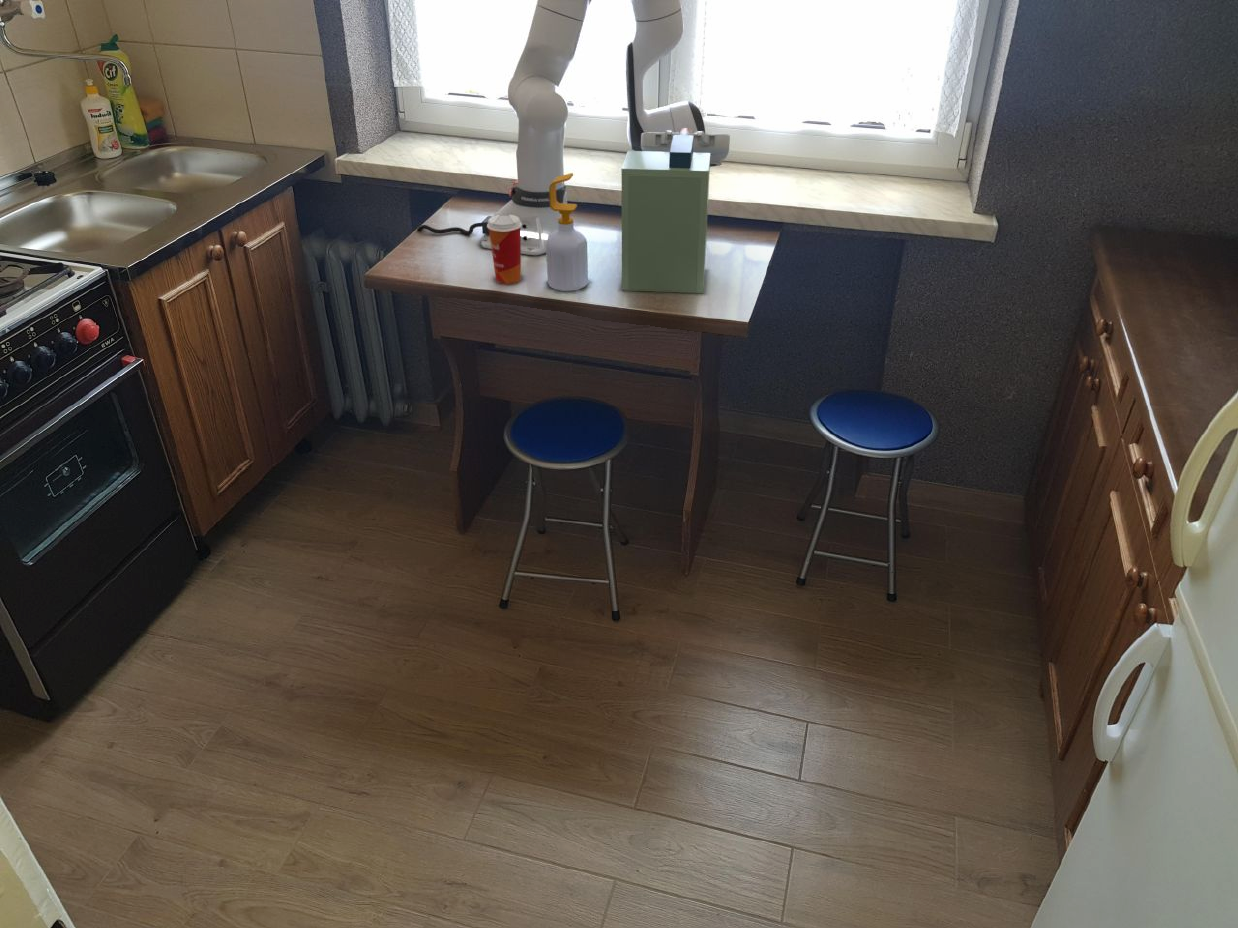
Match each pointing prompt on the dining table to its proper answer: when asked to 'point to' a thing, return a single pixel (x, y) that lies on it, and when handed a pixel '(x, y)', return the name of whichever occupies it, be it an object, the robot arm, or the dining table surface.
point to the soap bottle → (566, 247)
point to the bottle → (681, 150)
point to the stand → (664, 222)
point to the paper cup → (506, 247)
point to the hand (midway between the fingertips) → (684, 134)
